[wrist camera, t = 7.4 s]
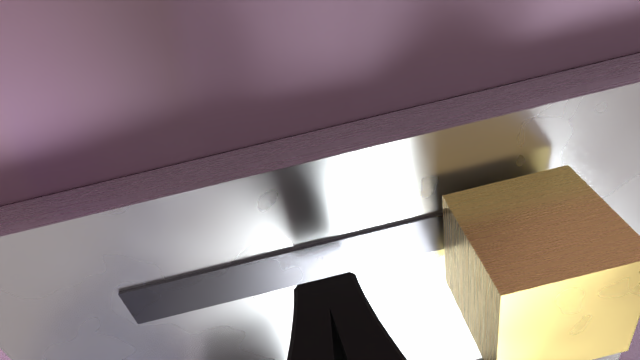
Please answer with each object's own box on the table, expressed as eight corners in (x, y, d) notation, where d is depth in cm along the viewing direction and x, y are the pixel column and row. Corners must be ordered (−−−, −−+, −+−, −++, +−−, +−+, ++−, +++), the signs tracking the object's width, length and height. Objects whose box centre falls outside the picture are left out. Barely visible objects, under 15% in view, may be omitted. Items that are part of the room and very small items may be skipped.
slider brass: (445, 281, 13) (495, 384, 11) (441, 195, 11) (501, 295, 9) (554, 254, 13) (627, 350, 11) (568, 164, 11) (660, 256, 9)
